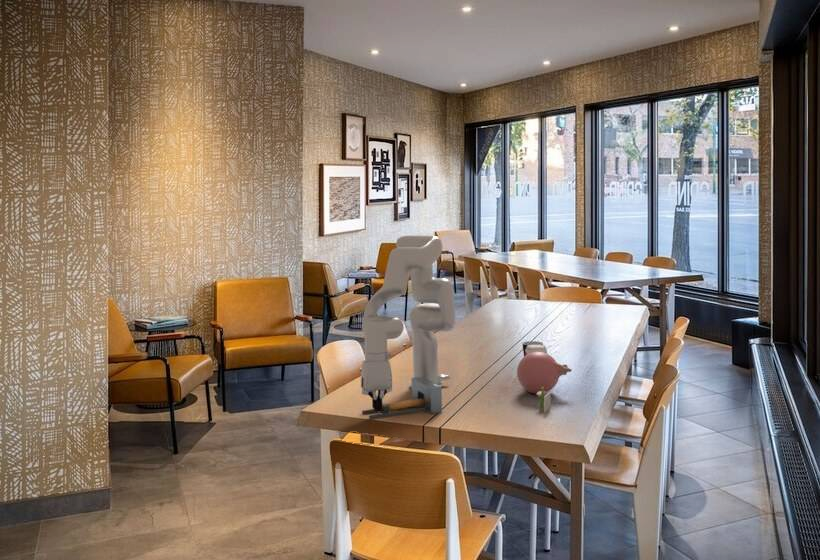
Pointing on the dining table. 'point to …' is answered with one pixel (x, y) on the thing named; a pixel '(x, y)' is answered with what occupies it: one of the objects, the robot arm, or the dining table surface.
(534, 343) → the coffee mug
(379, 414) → the guide
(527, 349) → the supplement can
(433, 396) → the housing
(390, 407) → the hammer
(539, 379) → the pink bulb shape
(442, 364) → the dining table surface
